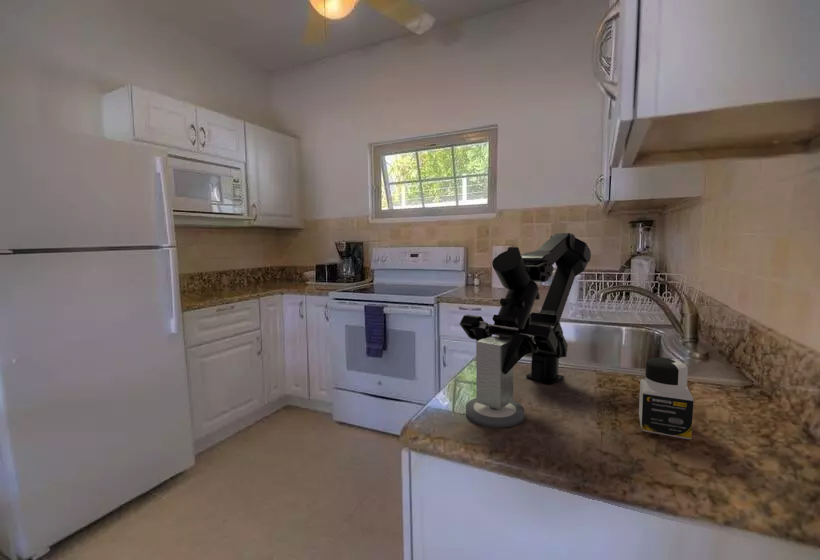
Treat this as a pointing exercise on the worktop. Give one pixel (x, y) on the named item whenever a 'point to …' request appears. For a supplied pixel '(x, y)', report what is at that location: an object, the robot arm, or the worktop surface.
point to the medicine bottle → (666, 399)
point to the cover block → (493, 372)
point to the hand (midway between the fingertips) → (491, 370)
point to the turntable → (495, 414)
